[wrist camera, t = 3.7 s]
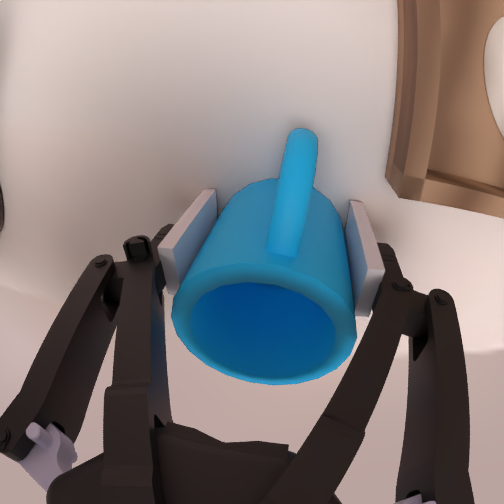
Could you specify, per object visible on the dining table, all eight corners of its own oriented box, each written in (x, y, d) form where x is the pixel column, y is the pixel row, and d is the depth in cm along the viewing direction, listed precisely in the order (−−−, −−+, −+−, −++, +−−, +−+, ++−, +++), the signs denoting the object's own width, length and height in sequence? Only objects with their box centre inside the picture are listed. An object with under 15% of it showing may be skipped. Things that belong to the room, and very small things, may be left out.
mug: (324, 295, 21) (322, 394, 14) (215, 272, 21) (177, 363, 15) (377, 134, 14) (434, 191, 7) (231, 104, 14) (163, 133, 8)
